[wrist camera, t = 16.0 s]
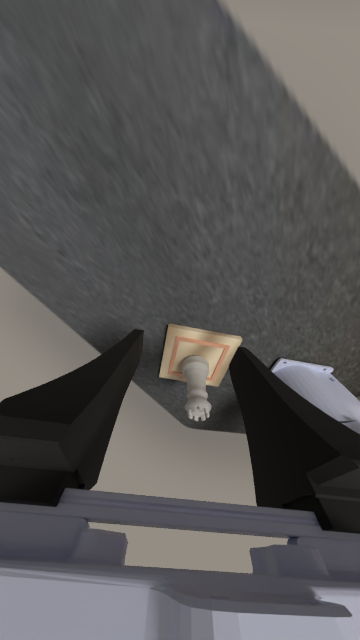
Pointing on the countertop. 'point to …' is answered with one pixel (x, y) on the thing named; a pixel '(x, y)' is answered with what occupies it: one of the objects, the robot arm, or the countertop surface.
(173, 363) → the marked board
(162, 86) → the countertop surface
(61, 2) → the countertop surface
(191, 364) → the rook chess piece
